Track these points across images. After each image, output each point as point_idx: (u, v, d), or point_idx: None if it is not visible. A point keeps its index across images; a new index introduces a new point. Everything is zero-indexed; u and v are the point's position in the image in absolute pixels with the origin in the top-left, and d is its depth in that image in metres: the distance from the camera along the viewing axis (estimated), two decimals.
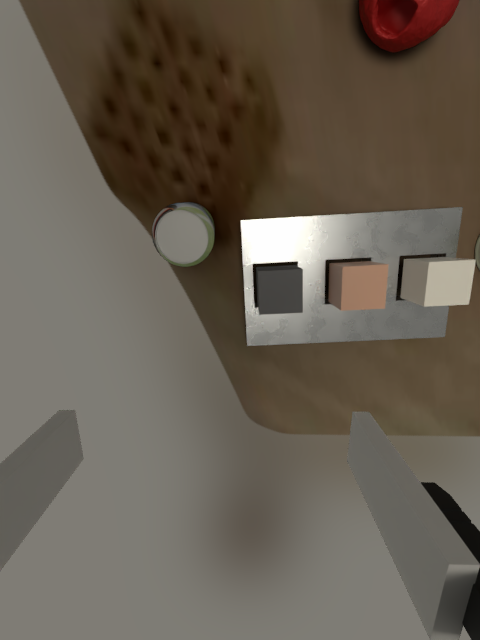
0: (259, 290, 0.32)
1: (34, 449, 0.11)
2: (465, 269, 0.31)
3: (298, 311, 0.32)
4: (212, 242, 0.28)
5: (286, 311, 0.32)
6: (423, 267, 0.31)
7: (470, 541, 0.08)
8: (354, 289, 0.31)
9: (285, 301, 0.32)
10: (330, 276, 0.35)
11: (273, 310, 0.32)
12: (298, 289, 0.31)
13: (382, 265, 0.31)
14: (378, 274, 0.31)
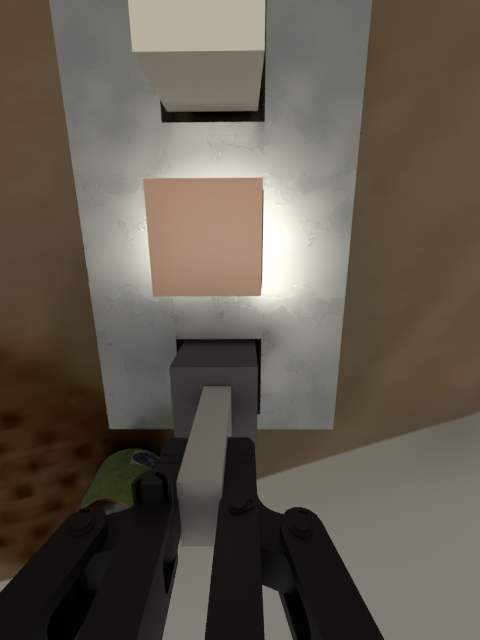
0: None
1: (209, 414, 0.13)
2: None
3: (255, 374, 0.16)
4: None
5: (253, 396, 0.16)
6: (156, 65, 0.11)
7: (242, 473, 0.11)
8: (208, 265, 0.12)
9: (232, 397, 0.16)
10: None
11: (249, 419, 0.16)
12: (210, 374, 0.16)
13: (146, 194, 0.12)
14: (170, 204, 0.12)
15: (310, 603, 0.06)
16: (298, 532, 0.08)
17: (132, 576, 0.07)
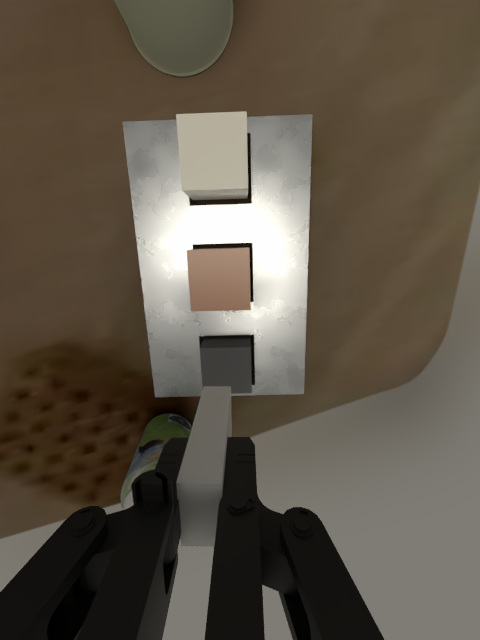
0: None
1: (209, 414, 0.13)
2: (191, 129, 0.20)
3: (249, 351, 0.27)
4: None
5: (248, 364, 0.27)
6: (192, 192, 0.22)
7: (243, 473, 0.11)
8: (221, 294, 0.23)
9: (236, 365, 0.28)
10: None
11: (247, 378, 0.28)
12: (223, 352, 0.27)
13: (188, 258, 0.22)
14: (200, 263, 0.22)
15: (310, 603, 0.06)
16: (297, 532, 0.08)
17: (132, 576, 0.07)
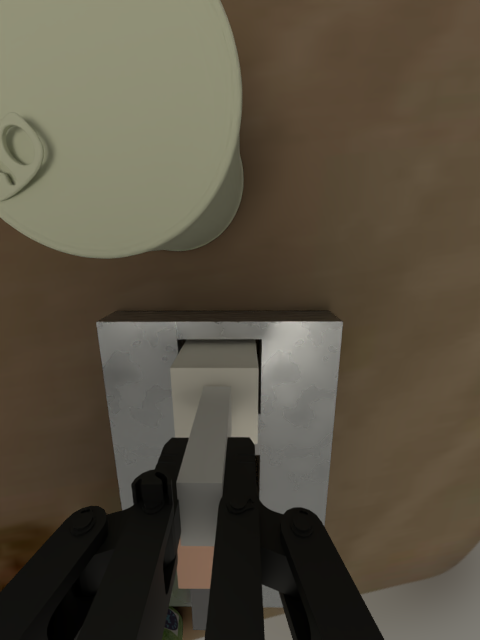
0: None
1: (209, 414, 0.13)
2: (188, 383, 0.16)
3: None
4: None
5: None
6: None
7: (243, 473, 0.11)
8: None
9: None
10: None
11: None
12: None
13: None
14: None
15: (310, 603, 0.06)
16: (298, 533, 0.08)
17: (132, 576, 0.07)
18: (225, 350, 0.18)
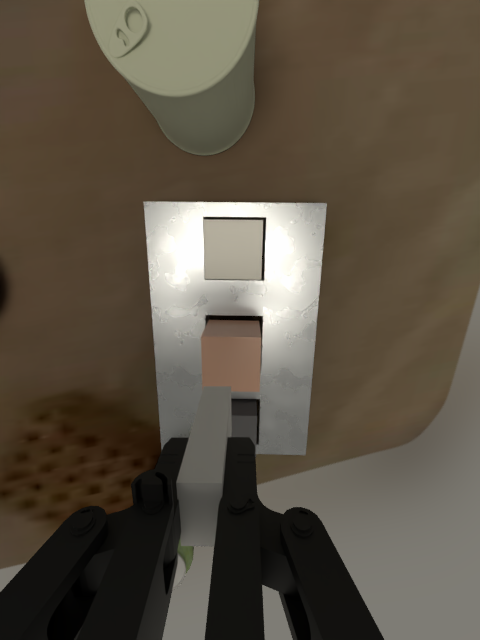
0: None
1: (209, 414, 0.13)
2: (215, 231, 0.24)
3: (255, 420, 0.28)
4: None
5: (254, 431, 0.29)
6: None
7: (242, 473, 0.11)
8: (232, 376, 0.24)
9: (242, 432, 0.29)
10: None
11: None
12: None
13: (202, 343, 0.23)
14: (214, 348, 0.23)
15: (310, 603, 0.06)
16: (297, 532, 0.08)
17: (132, 576, 0.07)
18: None
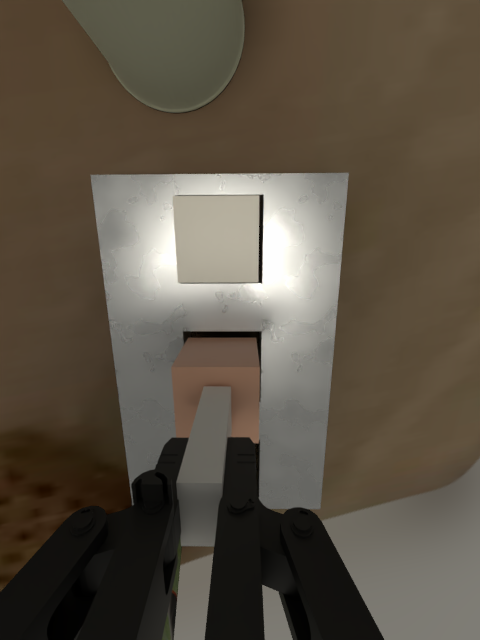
0: None
1: (209, 414, 0.13)
2: (190, 213, 0.16)
3: None
4: None
5: None
6: None
7: (243, 473, 0.11)
8: None
9: None
10: None
11: None
12: None
13: (173, 377, 0.16)
14: (191, 384, 0.16)
15: (310, 603, 0.06)
16: (297, 532, 0.08)
17: (132, 576, 0.07)
18: None
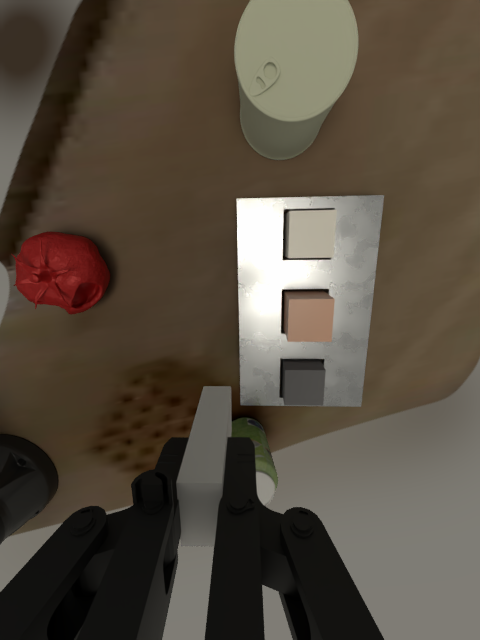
0: (301, 404, 0.36)
1: (209, 414, 0.13)
2: (298, 220, 0.30)
3: (324, 373, 0.35)
4: (258, 462, 0.33)
5: (322, 383, 0.35)
6: None
7: (242, 473, 0.11)
8: (311, 330, 0.32)
9: (313, 384, 0.35)
10: None
11: (320, 394, 0.36)
12: (303, 373, 0.35)
13: (289, 304, 0.31)
14: (298, 308, 0.31)
15: (310, 603, 0.06)
16: (298, 532, 0.08)
17: (132, 576, 0.07)
18: None
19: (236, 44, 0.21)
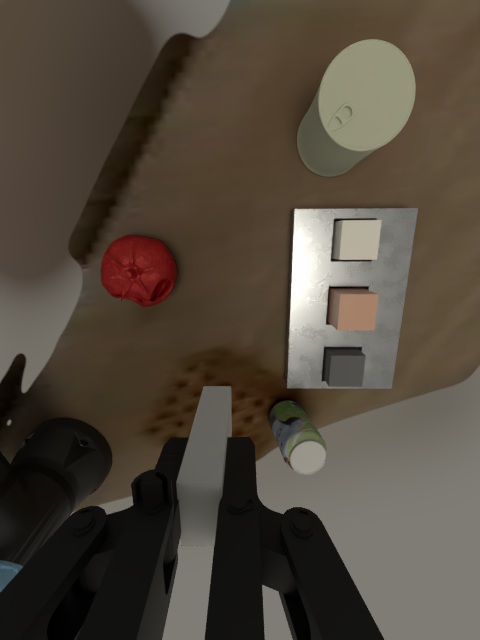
0: (343, 385, 0.42)
1: (209, 414, 0.13)
2: (349, 228, 0.36)
3: (364, 358, 0.41)
4: (311, 433, 0.39)
5: (362, 367, 0.41)
6: None
7: (243, 473, 0.11)
8: (357, 320, 0.38)
9: (354, 367, 0.41)
10: None
11: (360, 376, 0.41)
12: (347, 358, 0.41)
13: (340, 298, 0.37)
14: (348, 302, 0.37)
15: (310, 603, 0.06)
16: (297, 533, 0.08)
17: (132, 576, 0.07)
18: None
19: (320, 91, 0.27)
